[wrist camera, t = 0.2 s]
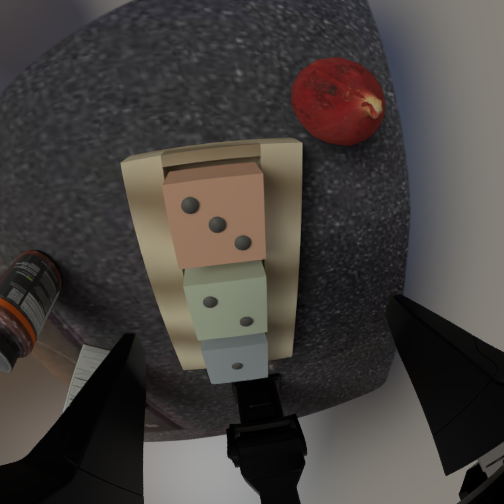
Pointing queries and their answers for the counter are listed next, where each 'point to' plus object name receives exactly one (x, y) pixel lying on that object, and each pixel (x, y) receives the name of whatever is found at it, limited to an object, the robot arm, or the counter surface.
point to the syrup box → (84, 369)
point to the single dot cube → (236, 358)
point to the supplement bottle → (25, 304)
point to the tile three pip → (216, 214)
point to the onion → (338, 101)
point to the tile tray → (276, 233)
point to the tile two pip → (227, 299)
